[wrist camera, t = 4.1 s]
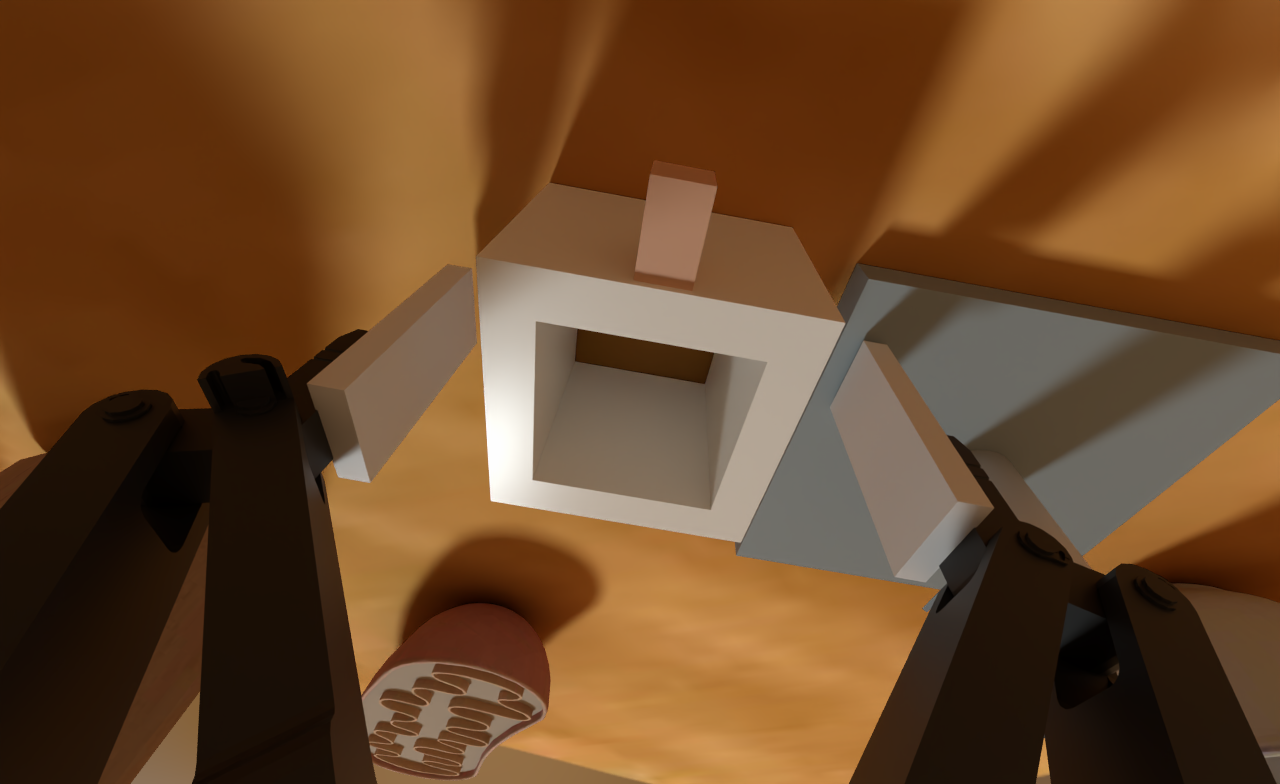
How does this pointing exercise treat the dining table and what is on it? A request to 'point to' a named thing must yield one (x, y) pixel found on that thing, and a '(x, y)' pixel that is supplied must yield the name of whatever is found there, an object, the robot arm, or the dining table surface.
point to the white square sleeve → (658, 312)
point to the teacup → (1246, 656)
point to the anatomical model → (456, 692)
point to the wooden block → (169, 669)
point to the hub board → (1016, 413)
